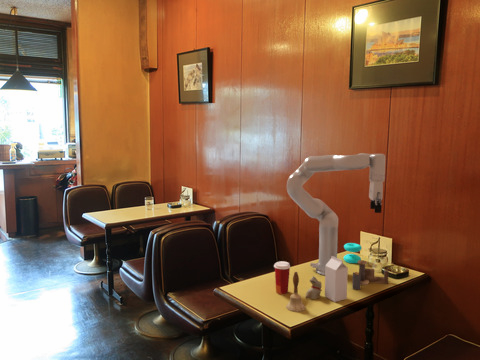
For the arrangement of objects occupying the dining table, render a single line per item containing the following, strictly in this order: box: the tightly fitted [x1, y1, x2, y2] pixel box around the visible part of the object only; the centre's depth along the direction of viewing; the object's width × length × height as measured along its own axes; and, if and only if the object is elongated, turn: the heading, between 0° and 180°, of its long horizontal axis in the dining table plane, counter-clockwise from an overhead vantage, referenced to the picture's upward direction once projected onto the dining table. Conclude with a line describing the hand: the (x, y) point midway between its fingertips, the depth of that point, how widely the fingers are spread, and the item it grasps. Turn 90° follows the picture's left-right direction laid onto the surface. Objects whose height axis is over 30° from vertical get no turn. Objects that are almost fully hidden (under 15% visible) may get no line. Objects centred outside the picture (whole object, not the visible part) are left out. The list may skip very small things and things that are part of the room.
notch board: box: [365, 267, 390, 285], centre depth 198 cm, size 14×5×6 cm, turn 77°
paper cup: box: [273, 260, 291, 295], centre depth 184 cm, size 8×8×14 cm
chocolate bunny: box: [305, 275, 323, 300], centre depth 179 cm, size 6×8×10 cm
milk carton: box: [324, 256, 349, 303], centre depth 177 cm, size 7×7×19 cm
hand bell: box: [285, 271, 306, 313], centre depth 168 cm, size 8×8×16 cm
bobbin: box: [357, 259, 370, 286], centre depth 196 cm, size 7×7×11 cm
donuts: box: [343, 242, 362, 264], centre depth 227 cm, size 10×10×10 cm
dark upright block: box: [351, 271, 362, 291], centre depth 189 cm, size 4×4×8 cm
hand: (375, 210), depth 200 cm, fingers open, 9 cm apart
